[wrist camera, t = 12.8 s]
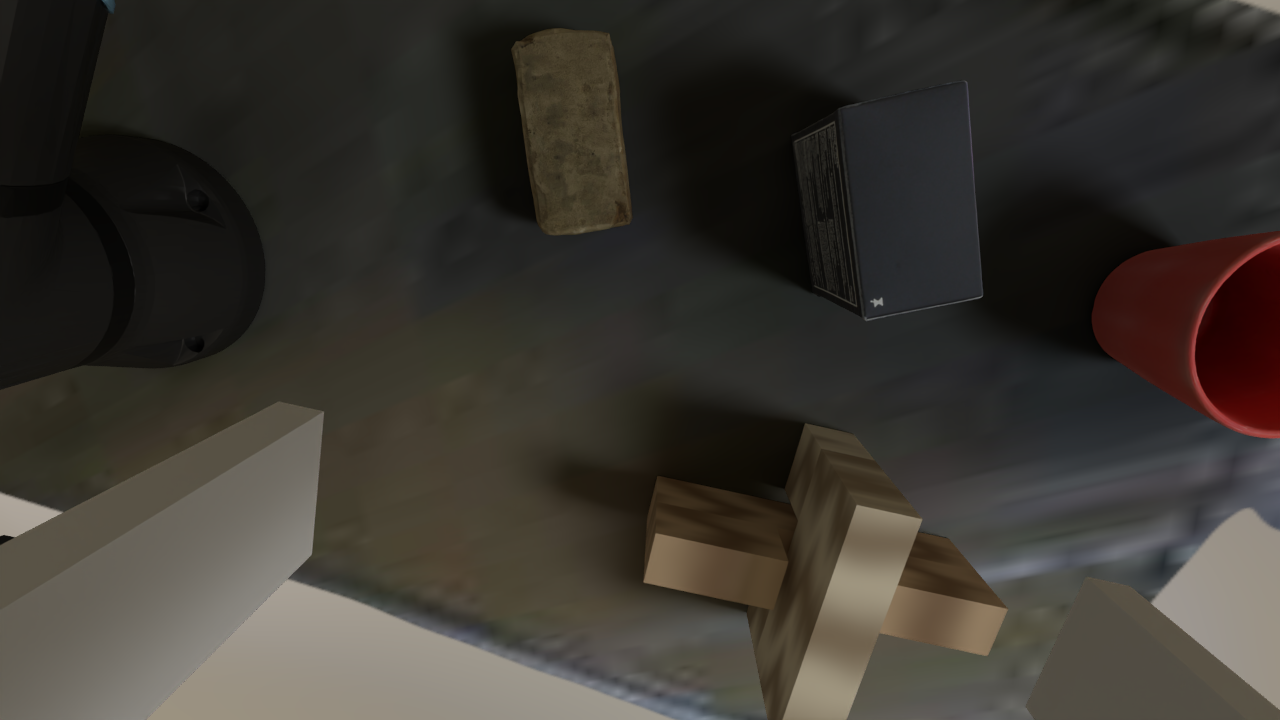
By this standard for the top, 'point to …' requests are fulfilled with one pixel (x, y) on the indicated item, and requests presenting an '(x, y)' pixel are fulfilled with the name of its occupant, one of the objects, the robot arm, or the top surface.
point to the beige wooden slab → (831, 578)
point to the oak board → (757, 560)
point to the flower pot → (1202, 326)
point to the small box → (891, 203)
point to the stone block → (573, 130)
